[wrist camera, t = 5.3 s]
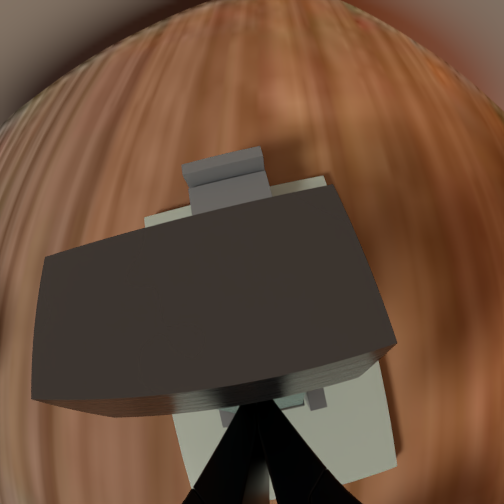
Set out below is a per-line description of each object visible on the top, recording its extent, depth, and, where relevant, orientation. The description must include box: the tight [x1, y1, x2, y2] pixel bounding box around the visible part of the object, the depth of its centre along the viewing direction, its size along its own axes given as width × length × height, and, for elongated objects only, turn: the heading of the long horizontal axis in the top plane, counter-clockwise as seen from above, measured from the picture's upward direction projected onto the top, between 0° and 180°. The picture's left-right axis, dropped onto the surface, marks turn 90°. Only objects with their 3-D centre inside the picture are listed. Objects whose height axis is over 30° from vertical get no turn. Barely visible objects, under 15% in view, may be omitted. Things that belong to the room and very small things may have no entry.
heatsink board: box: [144, 146, 397, 500], centre depth 17 cm, size 22×14×6 cm, turn 12°
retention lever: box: [31, 184, 397, 417], centre depth 9 cm, size 2×4×14 cm, turn 103°
